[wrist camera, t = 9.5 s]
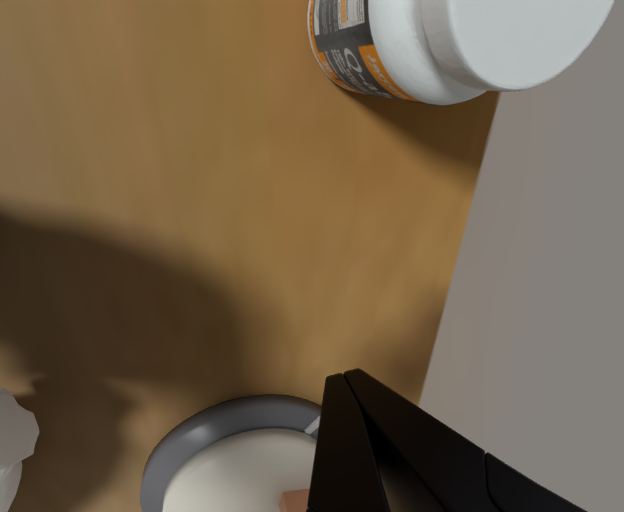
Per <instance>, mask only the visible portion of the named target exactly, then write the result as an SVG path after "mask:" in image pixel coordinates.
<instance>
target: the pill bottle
mask: <svg viewBox="0 0 624 512" xmlns="http://www.w3.org/2000/svg"><path fill="white" fill-rule="evenodd" d="M613 3H614V0H309V6H308V17H307V22H308V34H309V39H310V45H311V48H312V51H313V53H314V56H315V58H316V60H317V62H318V64H319V65H320V67H321V68H322V70H323V71H324V72H325V74H326V75H327V76H328V77H329V78H330V79H331V80H332V81H333V82H335V83H336V84H337V85H339V86H341V87H342V88H344V89H346V90H349V91H353V92H356V93H361V94H367V95H373V96H379V97H386V98H393V99H400V100H407V101H411V102H417V103H424V104H430V105H436V106H444V105H450V104H455V103H460V102H464V101H467V100H470V99H472V98H475V97H477V96H479V95H481V94H483V93H485V92H486V91H521V90H525V89H529V88H533V87H535V86H538V85H541V84H543V83H545V82H547V81H549V80H550V79H552V78H554V77H555V76H557V75H558V74H560V73H561V72H562V71H564V70H565V69H566V68H567V67H569V66H570V64H572V63H573V62H574V61H575V60H576V59H577V58H578V57H579V56H580V55H581V54H582V52H583V51H584V50H585V49H586V48H587V46H588V45H589V44H590V42H591V41H592V40H593V39H594V37H595V36H596V34H597V32H598V31H599V29H600V28H601V26H602V24H603V23H604V21H605V19H606V18H607V16H608V14H609V12H610V10H611V8H612V5H613Z"/></svg>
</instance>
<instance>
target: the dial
mask: <svg viewBox="0 0 624 512" xmlns="http://www.w3.org/2000/svg"><path fill="white" fill-rule="evenodd" d="M316 442H317V440H316V439H314V438H313V437H311V436H309V435H307V434H305V433H302V432H298V431H295V430H289V429H278V428H271V429H258V430H251V431H247V432H242V433H238V434H235V435H232V436H229V437H226V438H223V439H221V440H218V441H216V442H214V443H212V444H210V445H208V446H206V447H205V448H203V449H201V450H200V451H198V452H196V453H195V454H194V455H192V456H191V457H190V458H189V459H187V460H186V461H185V462H184V463H183V464H182V465H181V466H180V467H179V468H178V469H177V470H176V472H175V473H174V474H173V475H172V477H171V479H170V480H169V482H168V484H167V487H166V489H165V493H164V500H163V511H162V512H306V509H308V508H307V503H308V496H309V489H310V483H311V476H312V469H313V462H314V455H315V449H316Z"/></svg>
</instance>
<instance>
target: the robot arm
mask: <svg viewBox="0 0 624 512" xmlns="http://www.w3.org/2000/svg"><path fill="white" fill-rule="evenodd" d="M307 508H308V509H306V512H587V511H585V510H583V509H582V508H580V507H578V506H576V505H574V504H573V503H571V502H569V501H567V500H566V499H564V498H562V497H560V496H559V495H557V494H555V493H553V492H552V491H550V490H548V489H546V488H544V487H543V486H541V485H539V484H537V483H536V482H534V481H533V480H531V479H529V478H528V477H526V476H525V475H523V474H521V473H520V472H518V471H517V470H515V469H513V468H512V467H510V466H509V465H507V464H505V463H504V462H502V461H501V460H499V459H498V458H496V457H495V456H493V455H492V454H490V453H486V454H485V451H484V450H483V449H482V448H480V447H478V446H477V445H475V444H474V443H472V442H471V441H469V440H468V439H466V438H465V437H463V436H462V435H460V434H459V433H457V432H456V431H454V430H452V429H451V428H449V427H448V426H446V425H445V424H443V423H442V422H440V421H439V420H437V419H436V418H434V417H433V416H431V415H430V414H428V413H427V412H425V411H423V410H422V409H421V408H419V407H418V406H416V405H414V404H413V403H411V402H410V401H408V400H407V399H405V398H404V397H402V396H401V395H399V394H398V393H396V392H395V391H393V390H392V389H390V388H389V387H387V386H386V385H384V384H383V383H381V382H379V381H378V380H376V379H375V378H373V377H372V376H370V375H369V374H367V373H366V372H364V371H363V370H361V369H359V368H357V369H353V370H349V371H346V372H344V374H342V373H338V374H334V375H331V376H328V377H326V380H325V387H324V394H323V401H322V408H321V414H320V421H319V428H318V435H317V442H316V449H315V455H314V462H313V469H312V476H311V483H310V489H309V496H308V503H307Z"/></svg>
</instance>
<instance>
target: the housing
mask: <svg viewBox="0 0 624 512" xmlns="http://www.w3.org/2000/svg"><path fill="white" fill-rule="evenodd" d="M321 408H322V407H320V406H318V405H317V404H315V403H313V402H310V401H308V400H305V399H301V398H297V397H293V396H285V395H257V396H249V397H243V398H238V399H234V400H230V401H227V402H223V403H221V404H218V405H215V406H212V407H210V408H208V409H205V410H203V411H201V412H199V413H197V414H195V415H193V416H192V417H190V418H188V419H187V420H185V421H183V422H182V423H181V424H179V425H178V426H176V427H175V428H174V429H172V430H171V431H170V432H169V433H168V434H167V435H166V436H165V437H164V438H163V439H162V440H161V441H160V442H159V443H158V445H157V446H156V447H155V448H154V450H153V451H152V453H151V455H150V456H149V458H148V460H147V463H146V465H145V468H144V473H143V478H142V485H141V493H140V503H141V507H142V511H143V512H162V511H163V500H164V493H165V489H166V487H167V484H168V482H169V480H170V479H171V477H172V475H173V474H174V473H175V472H176V470H177V469H178V468H179V467H180V466H181V465H182V464H183V463H184V462H185V461H186V460H187V459H189V458H190V457H191V456H192V455H194V454H195V453H196V452H198V451H200V450H201V449H203V448H205V447H206V446H208V445H210V444H212V443H214V442H216V441H218V440H221V439H223V438H226V437H229V436H232V435H235V434H238V433H242V432H247V431H251V430H258V429H271V428H278V429H289V430H295V431H298V432H302V433H305V434H307V435H309V436H311V437H313V438H314V439H316V440H317V435H318V428H319V421H320V414H321Z"/></svg>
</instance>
